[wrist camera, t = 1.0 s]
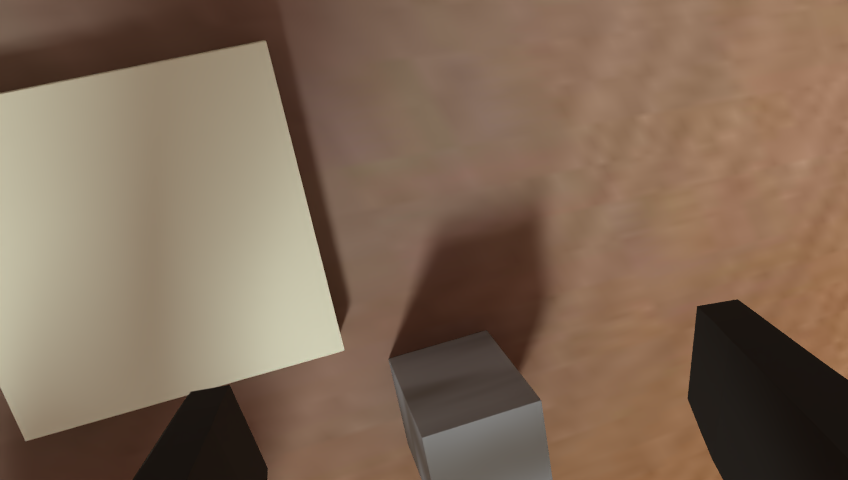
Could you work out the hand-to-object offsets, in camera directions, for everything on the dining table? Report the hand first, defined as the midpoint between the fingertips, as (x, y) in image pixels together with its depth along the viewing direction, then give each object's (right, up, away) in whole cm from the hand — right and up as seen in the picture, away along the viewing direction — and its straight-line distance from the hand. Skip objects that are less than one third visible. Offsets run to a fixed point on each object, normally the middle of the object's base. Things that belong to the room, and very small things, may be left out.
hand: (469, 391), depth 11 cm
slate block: (0, -4, +20) cm, 20 cm away
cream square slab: (-11, +3, +15) cm, 19 cm away
